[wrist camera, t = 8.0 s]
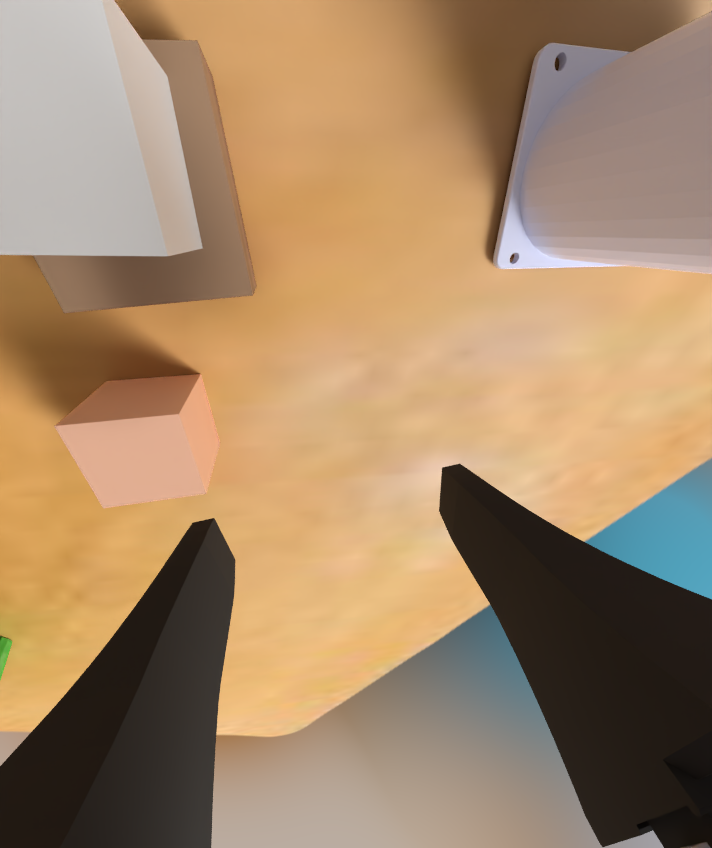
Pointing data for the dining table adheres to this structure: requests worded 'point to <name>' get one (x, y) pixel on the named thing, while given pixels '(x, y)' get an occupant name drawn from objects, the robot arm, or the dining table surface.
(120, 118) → the grey block
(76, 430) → the terracotta block
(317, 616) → the dining table surface
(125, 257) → the walnut base
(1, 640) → the fruit basket
